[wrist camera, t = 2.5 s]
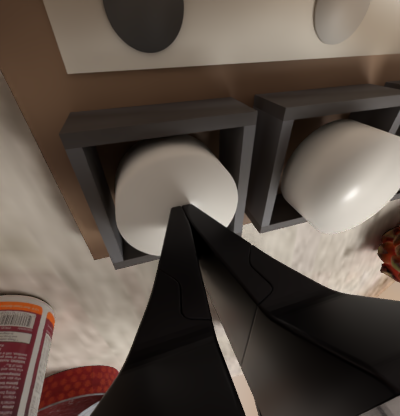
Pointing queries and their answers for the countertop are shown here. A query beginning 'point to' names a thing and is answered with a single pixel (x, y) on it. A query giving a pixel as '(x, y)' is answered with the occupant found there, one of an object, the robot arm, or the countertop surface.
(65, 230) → the countertop surface
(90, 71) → the button board
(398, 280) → the dragon fruit
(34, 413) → the pill bottle
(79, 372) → the canned food
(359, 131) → the button middle
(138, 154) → the button
